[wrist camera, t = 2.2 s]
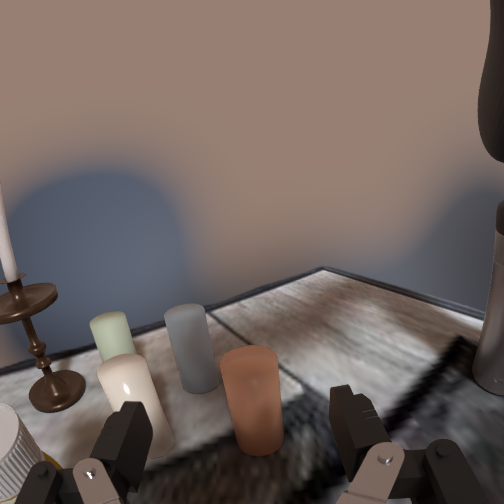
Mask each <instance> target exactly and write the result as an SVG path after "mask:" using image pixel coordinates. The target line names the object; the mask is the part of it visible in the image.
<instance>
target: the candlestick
mask: <svg viewBox="0 0 504 504" xmlns="http://www.w3.org/2000/svg"><path fill="white" fill-rule="evenodd" d="M0 258H1V262H2V266H3V270H4V273H5V277H6V278H5V279H3V280H1V281H0V284H4V283H7V287H8V290H9V292H7V293H5V294H3V295H1V296H0V324H8V323H12V322H16V321H20V320H22V323H23V326H24V329H25V331H26V334H27V336H28V339H29V341H30V345H29V346H28V352H29V353H30V354H31V355H32V356H34V357H36V360H37V362H36V367H37V368H38V369H42V371H43V374H44V377H42V378H40V379H39V380H38V381H37V382H36V383H35V384H34V385H33V386H32V387H31V389H30V392H29V399H30V401H31V403H32V405H33V406H34V408H35V409H36V410H38V411H40V412H44V413H54V412H59V411H62V410H65V409H67V408H69V407H71V406H72V405H74V404H75V403H76V402H77V401H78V400H79V399H80V398H81V397H82V396H83V394H84V392H85V383H84V381H83V378H82V376H81V375H80V374H79V373H77V372H75V371H70V370H62V371H56V372H52V370H51V368H50V366H49V365H50V364H51V359H50V358H47V357H46V355H45V351H46V344H45V342H44V341H41V340H38V337H37V335H36V332H35V329H34V327H33V324H32V321H31V319H30V316H32V315H35V314H37V313H39V312H41V311H42V310H44V309H46V308H47V307H49V306H50V305H51V304H53V303H54V302H55V301H56V299H57V298H58V292H57V289H56V286H55V285H54V284H52V283H38V284H32V285H28V286H24V287H23V285H22V282H21V278H22V277H24V276H25V275H26V273H19V274H18V271H17V267H16V263H15V259H14V255H13V251H12V246H11V242H10V238H9V232H8V227H7V222H6V216H5V211H4V204H3V198H2V191H1V183H0Z"/></svg>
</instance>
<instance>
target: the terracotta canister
mask: <svg viewBox="0 0 504 504" xmlns="http://www.w3.org/2000/svg"><path fill="white" fill-rule="evenodd" d="M220 368H221V373H222V378H223V382H224V387H225V392H226V396H227V401H228V405H229V410H230V414H231V419H232V423H233V427H234V431H235V436H236V440H237V444H238V447H239V448H240V449H241V450H242V451H243V452H244V453H246V454H248V455H252V456H265V455H269V454H272V453H274V452H275V451H277V450H278V449H279V448H280V447H281V446H282V444H283V442H284V429H283V417H282V405H281V393H280V382H279V371H278V360H277V355H276V353H275V352H274V351H273V350H272V349H270V348H268V347H265V346H260V345H247V346H241V347H238V348H235V349H232V350H230V351H229V352H227V353H226V354H225V355H224V356H223V357H222V358H221V360H220Z"/></svg>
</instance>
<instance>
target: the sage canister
mask: <svg viewBox="0 0 504 504" xmlns="http://www.w3.org/2000/svg"><path fill="white" fill-rule="evenodd" d="M90 328H91V330H92V333H93V336H94V339H95V342H96V345H97V348H98V350H99V353H100V356H101V358H102V361H103V362H105V361H106V360H108V359H109V358H111V357H114V356H117V355H121V354H137V352H136V349H135V346H134V343H133V340H132V337H131V333H130V330H129V327H128V323H127V320H126V316H125V314H124V313H122V312H117V311H116V312H115V311H114V312H107V313H104V314H101V315H99V316H97V317H95V318H94V319H92V320H91V322H90Z"/></svg>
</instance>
